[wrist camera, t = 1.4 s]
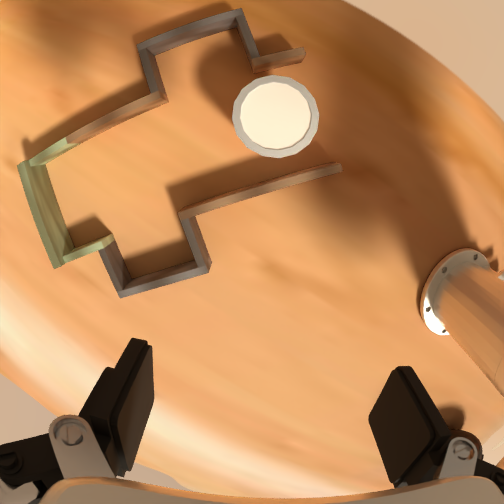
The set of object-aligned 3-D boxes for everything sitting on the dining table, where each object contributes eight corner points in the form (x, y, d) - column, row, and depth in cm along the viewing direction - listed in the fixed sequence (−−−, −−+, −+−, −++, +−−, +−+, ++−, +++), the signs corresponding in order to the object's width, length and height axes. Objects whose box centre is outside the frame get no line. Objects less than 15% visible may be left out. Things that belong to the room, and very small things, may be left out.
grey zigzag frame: (280, 10, 25) (284, -6, 21) (347, 221, 32) (359, 231, 28) (26, 121, 28) (6, 120, 24) (90, 298, 35) (76, 313, 31)
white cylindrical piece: (315, 139, 30) (334, 136, 23) (255, 168, 31) (256, 172, 24) (285, 80, 28) (294, 62, 21) (223, 108, 29) (216, 97, 22)
